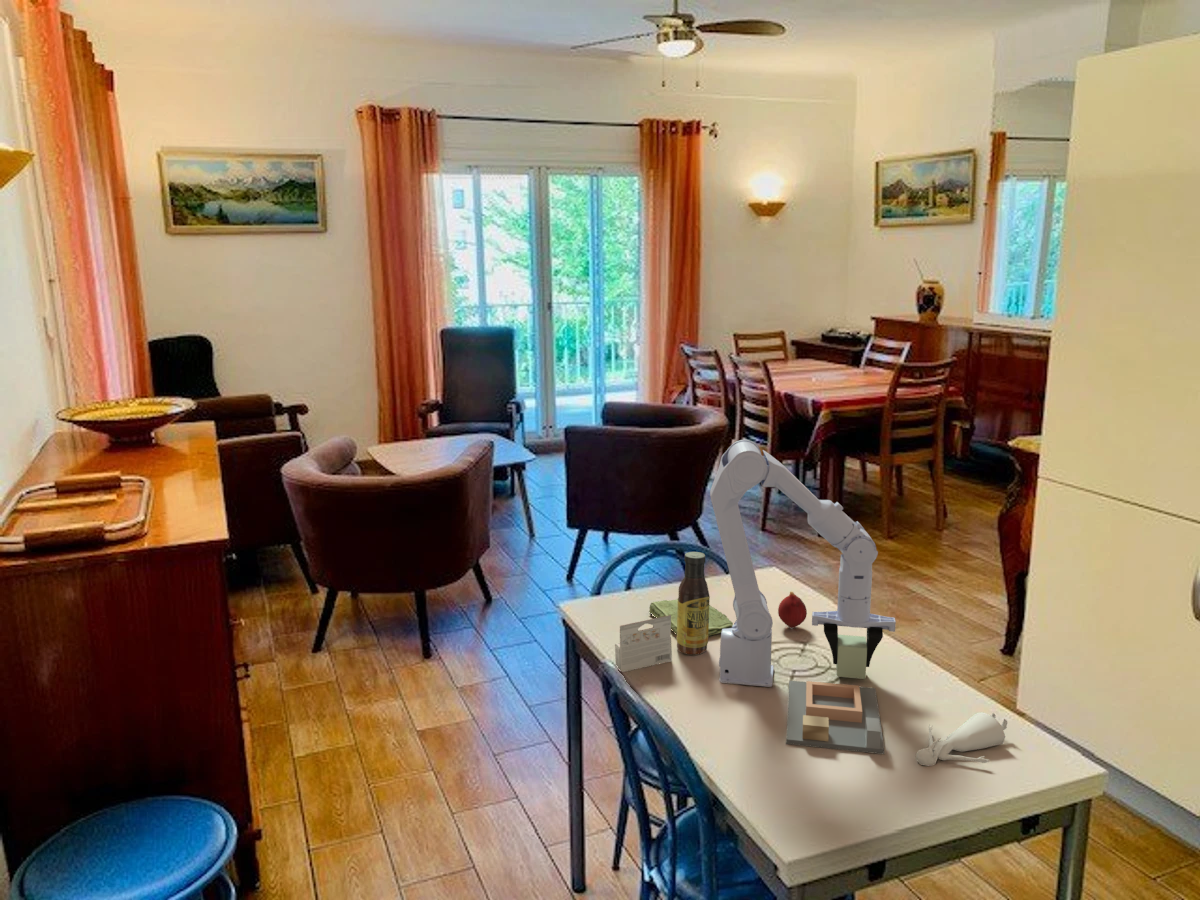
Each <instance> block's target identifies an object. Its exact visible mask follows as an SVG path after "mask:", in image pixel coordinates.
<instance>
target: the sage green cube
mask: <svg viewBox="0 0 1200 900" xmlns="http://www.w3.org/2000/svg"><path fill="white" fill-rule="evenodd" d="M866 642H867V636H862V635H861V636H860V635H849V634H846V635H845V634H838V641H837V664H835V667H836V669H835V670H836V677H838V678H850V679H861V680H862V679H863V680H866V677H867V676H866V675H867V673H866V672H867V667H866V660H867V644H866Z"/></svg>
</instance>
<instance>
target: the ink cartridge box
mask: <svg viewBox="0 0 1200 900" xmlns="http://www.w3.org/2000/svg"><path fill="white" fill-rule="evenodd" d="M647 624H648V625H651V626H652V627H650V628H645V629H640V630H639V628H641V627H642V626H644V625H647ZM671 632H672V631H671V615H669V616H664V617H659V618H655V617H654V618H650V619H646V620H645V619H644V620H641V621H635V622H631V623H627V624H622V625H619V643H617V642H616V643H614V652H615V666H616V665H617V666H618V668H619V669H620V670H621V671H622V673H625V672H629V671H635V670H638V668H639V669H643V668H642V667H644V668H647V667H646V666H648V667H651V665H652V666H656V665H655V664H657V665H660V664H659V663H661V664H665V663H664V662H666V663H669V662H672V661H673V660H672V658H673V657H672V656H673V655H672V637H671ZM634 669H635V670H634Z"/></svg>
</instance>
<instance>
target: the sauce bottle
mask: <svg viewBox="0 0 1200 900" xmlns="http://www.w3.org/2000/svg"><path fill="white" fill-rule="evenodd" d="M683 561H684V562H685V568H684V577H683V579H682V580H681V582H680V584H679V586H678V597H677V599H678V612H677V634H676V648H677V651H678V652H680V653H682V654H683V655H689V656H691V655H692V656H698V655H701V654H703V653H705V652H706V651H707V650H708V644H709V636H708V629H709V605H710V597H711V596H710V592H709V587H708V582H707V581H706V578H705V564H706V555H705V553H703V552H700V551H699V552H698V551H689V552H686V553H685V554H684V560H683Z"/></svg>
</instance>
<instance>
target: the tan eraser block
mask: <svg viewBox="0 0 1200 900" xmlns="http://www.w3.org/2000/svg"><path fill="white" fill-rule="evenodd" d="M828 735H829V718H828V717H818V716H808V715H803V737H802V739H810V740H819V741H828Z"/></svg>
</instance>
